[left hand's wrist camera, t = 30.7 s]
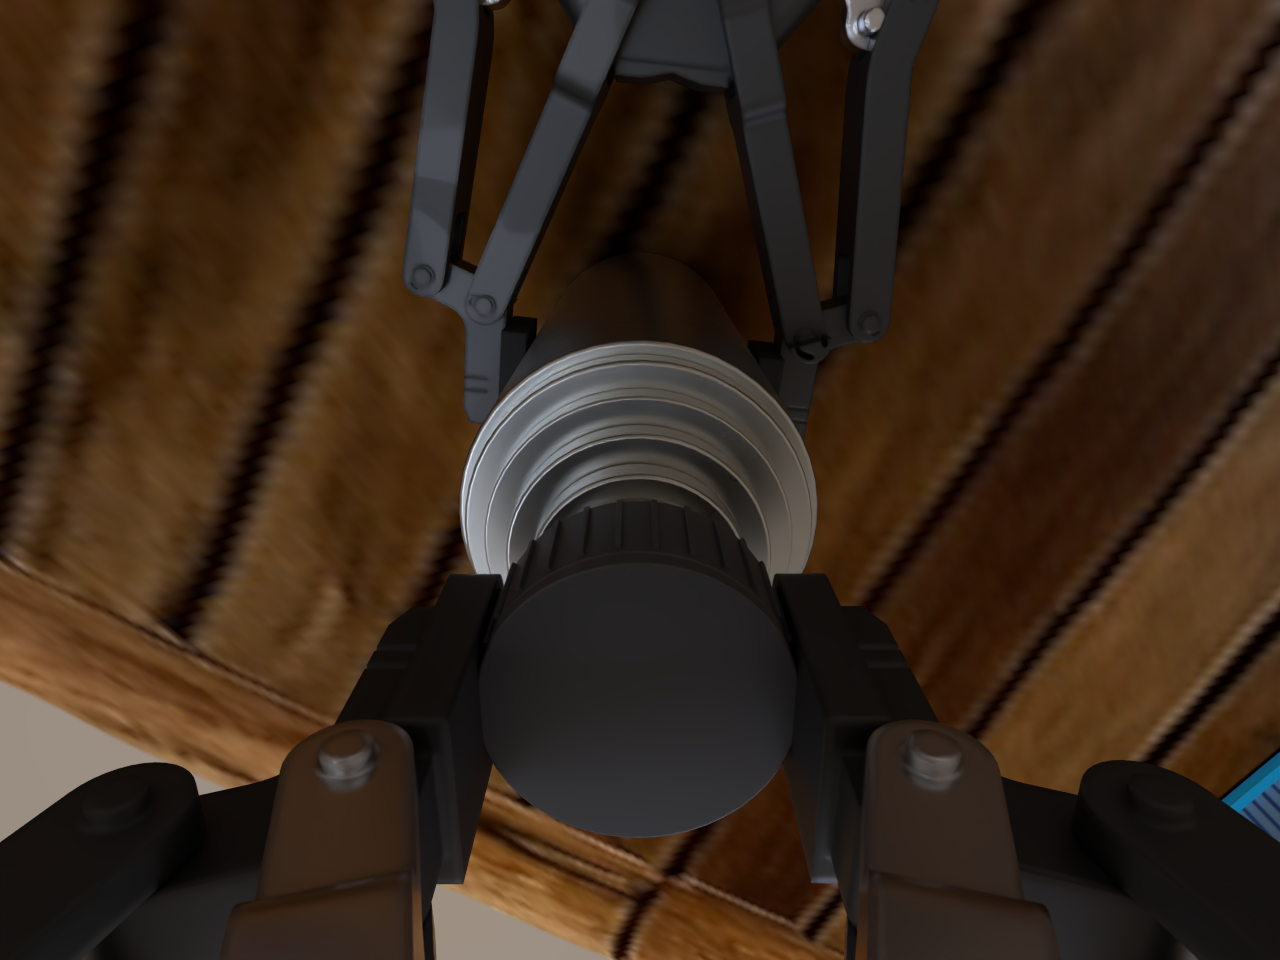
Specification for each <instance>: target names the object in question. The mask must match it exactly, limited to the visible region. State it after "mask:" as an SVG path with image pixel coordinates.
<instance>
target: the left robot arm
mask: <svg viewBox="0 0 1280 960" xmlns="http://www.w3.org/2000/svg"><path fill="white" fill-rule="evenodd" d="M503 587H504V584H503V579H502V576H501V574H450V575H449V577H448V579H447V581H446V583H445V585H444V588H443V590H442V592H441V594H440V596H439V598H438V601H437V603H436V605H435V607H412V608H411V609H409V610H408V611H407V612H405V613H404V614H403V615H402V616H400V617H399V618H398V619H396V620H395V621H394V622H392V623H391V624H390V625H389V626H388V627H387V629H386V631H385V633H384V635H383V637H382V638H381V640H380V642H379V644H378V646H377V651H374V653H373V655H372V657H371V659H370V660H369V662H368V664H367V669H364V671H363V673H362V675H361V677H360V679H359V680H358V682H357V684H356V686H355V688H354V690H353V691H352V693H351V695H350V697H349V699H348V701H347V702H346V704H345V706H344V708H343V710H342V712H341V713H340V715H339V717H338V719H337V721H336V722H335V724H334V725H332V726H329V727H327V728H324V729H322V730H319V731H317V732H316V733H314V734H312V735H310V736H308V737H307V738H305V739H304V740H302V741H301V742H300V743H299V744H297V745H296V746H295V747H294V748H293V749H292V750H291V751H290V753H289V754H288V755H287V756H286V758H285V760H284V761H283V763H282V766H281V770H280V774H279V775H277V776H275V777H272V778H269V779H266V780H264V781H260V782H257V783H253V784H249V785H244V786H240V787H235V788H231V789H226V790H222V791H217V792H213V793H208V794H203V795H199V794H198V790H197V786H196V782H195V779H194V777H193V775H192V774H191V773H190V772H189V771H188V770H186V769H185V768H183V767H181V766H178V765H175V764H170V763H159V762H154V763H142V764H137V765H131V766H127V767H123V768H119V769H116V770H113V771H110V772H108V773H105V774H102V775H100V776H98V777H96V778H93V779H91V780H89V781H88V782H86V783H84V784H82V785H80V786H79V787H77V788H76V789H74V790H73V791H71V792H69V793H68V794H67V795H65V796H64V797H63V798H61V799H60V800H58V801H57V802H56V803H54V804H53V805H51V806H50V807H49V808H47V809H46V810H44V811H43V812H42V813H40V814H39V815H37V816H36V817H35V818H33V819H32V820H31V821H29V822H28V823H26V824H25V825H24V826H22V827H21V828H19V829H18V830H17V831H15V832H14V833H12V834H11V835H10V836H8V837H7V838H6V839H4V840H3V841H1V842H0V960H436V944H435V928H434V920H433V911H432V903H431V901H432V898H433V894H434V891H435V887H436V884H463V883H464V879H465V874H466V870H467V866H468V862H469V858H470V854H471V850H472V846H473V842H474V838H475V834H476V830H477V826H478V821H479V817H480V813H481V809H482V805H483V801H484V797H485V793H486V789H487V785H488V781H489V777H490V773H491V769H492V764H493V762H492V760H491V758H490V757H489V755H488V753H487V751H486V748H485V746H484V741H483V730H482V718H481V705H480V693H479V679H478V670H479V666H480V662H481V659H482V656H483V653H484V650H485V649H484V647H483V641H484V638H485V635H486V632H487V629H488V626H489V623H490V620H491V617H492V614H493V611H494V608H495V605H496V602H497V599H498V596H499V593H500V590H501V589H503ZM773 587H775V588H776V591H777V594H778V597H779V600H780V603H781V607H782V610H783V613H784V616H785V619H786V622H787V625H788V628H789V631H790V635H791V638H792V646H791V650H792V653H793V656H794V659H795V663H796V667H797V684H796V697H795V710H794V722H793V735H792V746H791V748H790V751H789V753H788V755H787V756H786V758H785V760H784V762H783V766H784V770H785V774H786V778H787V782H788V787H789V791H790V795H791V799H792V803H793V808H794V812H795V816H796V820H797V824H798V829H799V833H800V837H801V841H802V845H803V850H804V854H805V858H806V862H807V866H808V871H809V875H810V879H811V883H838V885H839V889H840V893H841V896H842V900H843V904H844V907H845V910H846V913H847V920H846V928H845V944H844V960H1197V958H1198V959H1199V960H1280V842H1279V841H1277V840H1276V839H1274V838H1273V837H1272V836H1270V835H1269V834H1268V833H1266V832H1265V831H1263V830H1262V829H1261V828H1259V827H1258V826H1256V825H1255V824H1254V823H1252V822H1251V821H1249V820H1248V819H1247V818H1245V817H1244V816H1243V815H1241V814H1240V813H1238V812H1237V811H1236V810H1234V809H1233V808H1231V807H1230V806H1229V805H1227V804H1226V803H1224V802H1223V801H1222V800H1220V799H1219V798H1218V797H1216V796H1215V795H1213V794H1212V793H1211V792H1209V791H1208V790H1206V789H1205V788H1203V787H1202V786H1200V785H1199V784H1197V783H1195V782H1193V781H1192V780H1190V779H1188V778H1186V777H1184V776H1182V775H1180V774H1177V773H1175V772H1173V771H1170V770H1167V769H1165V768H1162V767H1159V766H1155V765H1151V764H1147V763H1142V762H1137V761H1127V760H1113V761H1106V762H1101V763H1098V764H1096V765H1093V766H1092V767H1090V768H1089V769H1088V770H1087V771H1086V772H1085V773H1084V775H1083V777H1082V780H1081V784H1080V788H1079V792H1078V795H1075V794H1070V793H1066V792H1061V791H1057V790H1052V789H1048V788H1043V787H1039V786H1034V785H1029V784H1025V783H1021V782H1017V781H1013V780H1010V779H1007V778H1005V777H1002V776H1001V774H1000V770H999V767H998V763H997V761H996V760H995V758H994V756H993V755H992V754H991V753H990V751H989V750H988V749H987V748H986V747H985V746H984V745H983V744H981V743H980V742H979V741H978V740H976V739H975V738H973V737H972V736H970V735H968V734H966V733H964V732H963V731H961V730H958V729H956V728H953V727H951V726H948V725H945V724H941V723H939V721H938V719H937V717H936V715H935V714H934V712H933V710H932V708H931V706H930V704H929V702H928V701H927V699H926V697H925V695H924V693H923V691H922V689H921V688H920V686H919V684H918V682H917V680H916V678H915V676H914V675H913V673H912V671H911V669H910V668H908V663H907V662H906V660H905V658H904V656H903V654H902V652H901V650H898V645H897V643H896V641H895V639H894V637H893V636H892V634H891V632H890V630H889V628H888V626H887V625H886V624H885V623H884V622H883V621H881V620H880V619H879V618H877V617H876V616H875V615H873V614H872V613H871V612H869V611H868V610H867V609H866V608H864V607H863V606H840V604H839V601H838V599H837V597H836V595H835V593H834V590H833V588H832V586H831V584H830V582H829V579H828V577H827V575H826V574H824V573H776V574H775V575H774V578H773V583H772V588H773Z"/></svg>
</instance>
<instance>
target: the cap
mask: <svg viewBox="0 0 1280 960" xmlns="http://www.w3.org/2000/svg"><path fill="white" fill-rule="evenodd" d="M791 646H792V638H791V635H790V631H789V628H788V625H787V622H786V619H785V616H784V613H783V610H782V607H781V603H780V600H779V597H778V594H777V591H776V588H775V587H773V588H772V585H771V582H770V579H769V576H768V573H767V570H766V566H765V564H764V562H763V561H760V562H759V561H758V560H757V559H756V557H755V556H754V555H753V553H752V552H751V551H750V550H749V548H748V547H747V544H746V540H745V539H743V538H742V537H741V538H740V539H739V538H738V537H736V536H735V535H734V534H733V533H732V532H730V531H729V530H727V529H726V528H725V527H723V526H722V525H721V522H720V521H719V520H718V519H716V518H715V520H712V519H710V518H708V517H706V516H704V515H702V514H700V513H697V512H694V511H692V510H691V509H690V507H688V506H684V508H683V507H679V506H675V505H671V504H667V503H660V502H657V500H656V499H651V501H625V502H623V499H620V500H617V503H609V504H605V505H601V506H597V507H593V508H590V506H588V507H585V508H584V511H582V512H579V513H576V514H574V515H572V516H570V517H568V518H566V519H564V520H563V521H560V520H557V521H555V522H554V525H553V527H551V528H550V529H549V530H547V531H546V532H545V533H543V534H542V535H541V536H540V537H539V538H538V539H537V540H536V541H535V540H534V539H532V540H531V541H530V542H529V544H528V548H527V550H526V551H525V552H524V554H523V555H522V556H521V558H520V559H519V560H518V562H517V563H514V562H513V563H512V564H511V566H510V569H509V572H508V575H507V578H506V581H505V584H504V587H503V589H501V590H500V593H499V596H498V599H497V602H496V605H495V608H494V611H493V614H492V617H491V620H490V623H489V626H488V629H487V632H486V635H485V638H484V641H483V647H484V649H485V650H484V653H483V656H482V659H481V662H480V666H479V670H478V679H479V693H480V705H481V718H482V730H483V741H484V746H485V748H486V751H487V753H488V755H489V757H490V758H491V760H492V762H493V764H494V765H495V767H496V769H497V770H498V771H499V772H500V774H501V775H502V776H503V778H504V779H505V780H506V781H507V783H508V784H509V785H510V786H511V787H512V788H513V789H514V790H515V791H516V792H517V793H518V794H519V795H520V796H522V797H523V798H524V799H526V800H527V801H528V802H529V803H531V804H532V805H533V806H535V807H536V808H538V809H539V810H541V811H543V812H544V813H546V814H548V815H549V816H551V817H553V818H555V819H557V820H560V821H562V822H564V823H566V824H568V825H571V826H574V827H577V828H580V829H583V830H586V831H590V832H594V833H599V834H604V835H609V836H619V837H657V836H667V835H672V834H677V833H682V832H686V831H690V830H693V829H696V828H699V827H702V826H705V825H707V824H710V823H712V822H714V821H716V820H719V819H721V818H723V817H725V816H727V815H728V814H730V813H732V812H733V811H735V810H737V809H738V808H740V807H741V806H743V805H744V804H745V803H747V802H748V801H749V800H750V799H752V798H753V797H754V796H755V795H756V794H758V793H759V792H760V791H761V790H762V789H763V788H764V787H765V786H766V785H767V784H768V783H769V781H770V780H771V779H772V777H773V776H774V775H775V774H776V772H777V771H778V770H779V768H780V767H781V765H782V763H783V762H784V760H785V758H786V756H787V755H788V753H789V751H790V748H791V746H792V735H793V722H794V710H795V697H796V684H797V667H796V663H795V659H794V656H793V653H792V650H791Z"/></svg>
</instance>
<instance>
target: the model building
mask: <svg viewBox="0 0 1280 960" xmlns="http://www.w3.org/2000/svg"><path fill="white" fill-rule="evenodd" d="M1222 801H1223V802H1224V803H1226V804H1227V805H1229V806H1230V807H1231V808H1233V809H1234V810H1236V811H1237V812H1238V813H1240V814H1241V815H1243V816H1244V817H1245V818H1247V819H1248V820H1249V821H1251V822H1252V823H1254V824H1255V825H1256V826H1258V827H1259V828H1261V829H1262V830H1263V831H1265V832H1266V833H1268V834H1269V835H1270V836H1272V837H1273V838H1274V839H1276V840H1277V841H1279V842H1280V752H1279V753H1278V754H1276V755H1275V756H1274V757H1273V758H1272V759H1270V760H1269V761H1268V762H1267V763H1266V764H1264V765H1263V766H1262V767H1261V768H1260V769H1258V770H1257V771H1256V772H1255V773H1254V774H1252V775H1251V776H1250V777H1249V778H1248V779H1246V780H1245V781H1244V782H1243V783H1242V784H1240V785H1239V786H1238V787H1237V788H1236V789H1234V790H1233V791H1232V792H1231V793H1230V794H1228V795H1227V796H1226V797H1225V798H1224V799H1222ZM1197 960H1199V959H1198V958H1197Z"/></svg>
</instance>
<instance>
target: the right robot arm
mask: <svg viewBox="0 0 1280 960" xmlns="http://www.w3.org/2000/svg"><path fill="white" fill-rule="evenodd" d="M510 1H511V0H433V4H434V18H433V26H432V34H431V42H430V50H429V58H428V67H427V75H426V83H425V91H424V99H423V107H422V116H421V124H420V132H419V140H418V148H417V156H416V165H415V173H414V181H413V189H412V197H411V205H410V214H409V222H408V230H407V238H406V246H405V254H404V263H403V271H402V274H403V281H404V283H405V286H406V288H407V289H408V290H409V291H410V292H411V293H412V294H414V295H417V296H419V297H429V298H432V299H434V300H436V301H438V302H440V303H442V304H444V305H446V306H449V307H450V308H452V309H453V310H455V311H456V312H457V313H458V314H459V315H460V317H461V318H462V320H463V322H464V325H465V329H466V346H465V379H464V388H465V389H464V409H465V412H466V415H467V417H468V420H469V423H475V424H482V423H483V422H484V420H485V418H486V417H487V415H488V414H489V412H490V410H491V409H492V407H493V406H494V404H495V402H496V401H497V399H498V397H499V396H500V394H501V393H502V391H503V389H504V388H505V386H506V385H507V383H508V381H509V380H510V378H511V377H512V375H513V373H514V372H515V370H516V369H517V367H518V365H519V364H520V362H521V361H522V359H523V357H524V356H525V354H526V352H527V351H528V349H529V348H530V346H531V344H532V343H533V341H534V340H535V338H536V330H537V318H530V317H520V316H514V317H513V305H514V303H515V302H516V301H517V296H518V293H519V291H520V289H521V287H522V284H523V282H524V280H525V277H526V275H527V273H528V271H529V268H530V266H531V264H532V262H533V259H534V257H535V255H536V252H537V250H538V248H539V246H540V243H541V241H542V239H543V237H544V234H545V232H546V230H547V227H548V225H549V223H550V221H551V218H552V216H553V214H554V212H555V209H556V207H557V205H558V202H559V200H560V198H561V196H562V193H563V191H564V189H565V187H566V184H567V182H568V180H569V177H570V175H571V173H572V171H573V168H574V166H575V164H576V162H577V159H578V157H579V155H580V152H581V150H582V148H583V146H584V143H585V141H586V139H587V137H588V134H589V132H590V130H591V127H592V125H593V123H594V121H595V118H596V116H597V114H598V112H599V111H600V109H601V107H602V105H603V103H604V101H605V98H606V96H607V94H608V92H609V89H610V87H611V85H612V82H613V80H614V78H615V79H616V81H617V82H622V83H631V84H640V85H644V84H650V83H655V82H661V81H667V80H671V81H674V82H676V83H678V84H681V85H683V86H685V87H688V88H690V89H693V90H695V91H701V92H710V93H719V94H722V93H723V92H724V97H725V102H726V106H727V111H728V116H729V120H730V123H731V126H732V129H733V132H734V136H735V141H736V146H737V151H738V156H739V161H740V165H741V170H742V175H743V180H744V185H745V190H746V195H747V200H748V204H749V209H750V214H751V219H752V224H753V229H754V234H755V239H756V243H757V248H758V253H759V258H760V263H761V268H762V273H763V278H764V282H765V287H766V292H767V297H768V302H769V307H770V312H771V316H772V321H773V326H774V330H775V336H774V343H773V344H772V343H771V342H763V341H753V340H749V342H748V349H749V350H750V352H751V353H752V355H753V357H754V358H755V360H756V362H757V363H758V365H759V367H760V368H761V370H762V371H763V373H764V375H765V376H766V378H767V380H768V381H769V383H770V384H771V386H772V388H773V389H774V391H775V393H776V394H777V396H778V398H779V399H780V401H781V402H782V404H783V406H784V407H785V409H786V411H787V412H788V414H789V415H790V417H791V419H792V421H793V422H794V424H795V426H796V427H797V429H798V431H799V433H800V434H801V436H802V438H803V441H804V436H805V431H806V425H807V420H808V414H809V409H810V403H811V398H812V392H813V387H814V381H815V376H816V370H817V366H818V363H819V361H821V360H823V359H824V358H825V357H826V356H827V355H828V353H829V351H830V350H831V349H833V348H836V347H839V346H843V345H847V344H851V343H855V342H859V341H860V342H864V343H871V342H876V341H877V340H879V339H880V338H882V337H883V336H884V335H885V333H886V332H887V331H888V327H889V324H890V315H891V304H892V292H893V281H894V270H895V259H896V248H897V237H898V225H899V214H900V203H901V192H902V181H903V169H904V158H905V147H906V136H907V125H908V114H909V102H910V91H911V80H912V69H913V64H914V61H915V59H916V56H917V54H918V52H919V49H920V47H921V44H922V42H923V40H924V37H925V35H926V32H927V30H928V28H929V25H930V23H931V20H932V18H933V15H934V13H935V11H936V8H937V6H938V3H939V1H940V0H834V1H835V2H836V3H837V5H838V8H839V11H840V23H839V31H838V32H839V38H840V41H841V43H842V44H843V46H844V47H845V48H846V49H848V50H849V51H851V52H853V56H852V59H851V64H850V68H849V73H848V77H847V86H846V95H845V110H844V126H843V141H842V157H841V173H840V188H839V204H838V219H837V235H836V250H835V266H834V281H833V297H832V299H829V300H825V301H821V302H820V298H819V293H818V287H817V282H816V276H815V271H814V265H813V260H812V254H811V249H810V244H809V238H808V233H807V227H806V222H805V216H804V211H803V205H802V200H801V195H800V189H799V184H798V178H797V173H796V167H795V162H794V156H793V151H792V145H791V140H790V135H789V129H788V124H787V117H786V95H785V89H784V84H783V78H782V73H781V67H780V62H779V56H778V51H777V50H778V49H779V48H780V47H781V46H782V44H783V43H784V42H785V41H786V40H787V39H788V37H789V36H790V35H791V34H792V33H793V31H794V30H795V29H796V28H797V27H798V26H799V24H800V23H801V22H802V21H803V20H804V19H805V17H806V16H807V15H808V14H809V13H810V12H811V10H812V9H813V8H814V7H815V6H816V4H817V3H818V2H819V1H820V0H559V2H560V4H561V6H562V8H563V10H564V11H565V13H566V15H567V17H568V19H569V21H570V23H571V24H572V26H573V28H574V31H573V34H572V36H571V38H570V41H569V43H568V46H567V48H566V50H565V53H564V55H563V58H562V60H561V62H560V65H559V67H558V70H557V73H556V76H555V79H554V83H553V87H552V90H551V92H550V95H549V97H548V100H547V102H546V105H545V107H544V109H543V112H542V114H541V117H540V119H539V121H538V124H537V126H536V128H535V131H534V133H533V136H532V138H531V140H530V143H529V145H528V148H527V150H526V152H525V155H524V157H523V160H522V162H521V164H520V167H519V169H518V172H517V174H516V176H515V179H514V181H513V183H512V186H511V188H510V191H509V193H508V195H507V198H506V200H505V203H504V205H503V207H502V210H501V212H500V215H499V217H498V219H497V222H496V224H495V227H494V229H493V231H492V234H491V236H490V238H489V241H488V243H487V246H486V248H485V250H484V253H483V255H482V258H481V260H480V262H479V265H478V267H477V266H475V265H473V264H470V263H468V262H466V261H464V260H462V256H463V249H464V243H465V236H466V229H467V222H468V215H469V209H470V202H471V195H472V188H473V181H474V174H475V168H476V161H477V154H478V147H479V140H480V133H481V127H482V120H483V113H484V106H485V99H486V92H487V86H488V79H489V72H490V65H491V58H492V50H493V40H494V16H493V11H494V10H499V9H502V8H504V7H505V6H506V5H508V4H509V2H510Z"/></svg>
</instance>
